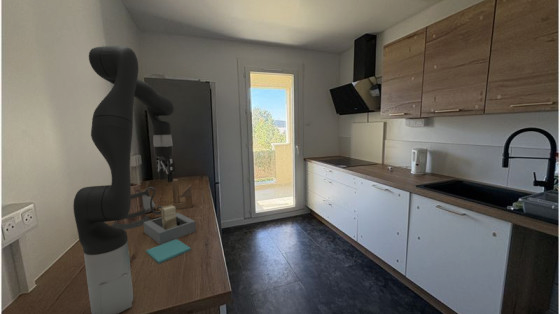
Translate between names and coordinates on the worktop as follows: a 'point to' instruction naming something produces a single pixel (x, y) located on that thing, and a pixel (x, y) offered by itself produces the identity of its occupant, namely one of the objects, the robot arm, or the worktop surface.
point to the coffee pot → (147, 200)
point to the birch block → (168, 217)
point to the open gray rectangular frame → (162, 236)
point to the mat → (168, 250)
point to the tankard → (136, 209)
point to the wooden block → (176, 197)
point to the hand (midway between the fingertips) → (166, 180)
